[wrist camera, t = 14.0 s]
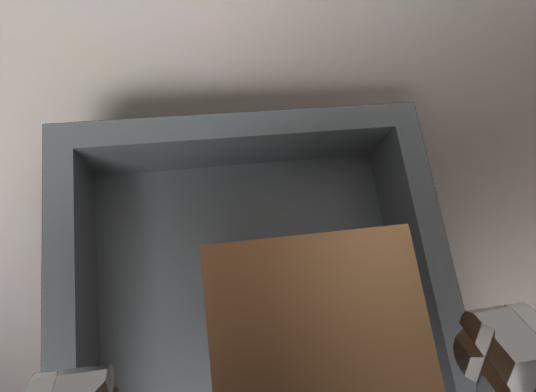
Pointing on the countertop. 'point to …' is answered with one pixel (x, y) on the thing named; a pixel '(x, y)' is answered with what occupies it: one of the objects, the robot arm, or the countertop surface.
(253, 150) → the bin
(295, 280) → the block
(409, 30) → the countertop surface
